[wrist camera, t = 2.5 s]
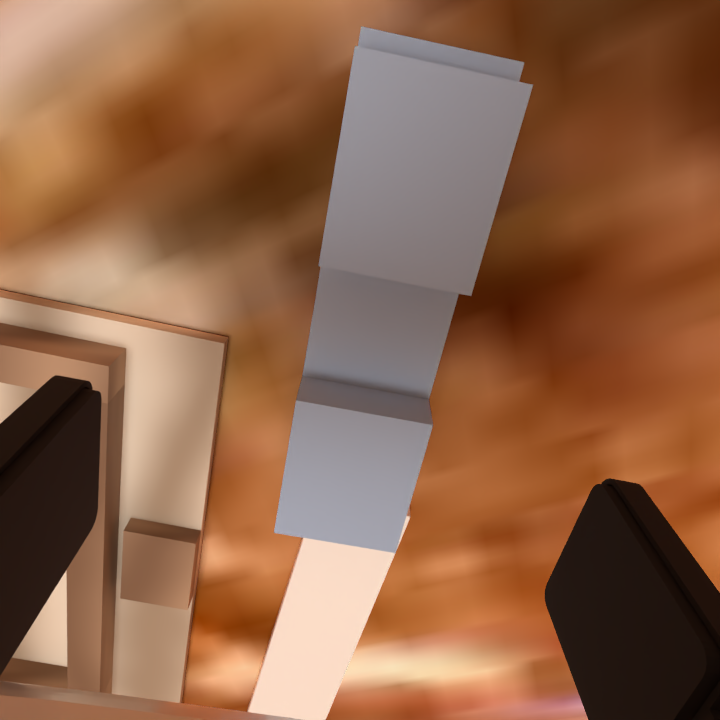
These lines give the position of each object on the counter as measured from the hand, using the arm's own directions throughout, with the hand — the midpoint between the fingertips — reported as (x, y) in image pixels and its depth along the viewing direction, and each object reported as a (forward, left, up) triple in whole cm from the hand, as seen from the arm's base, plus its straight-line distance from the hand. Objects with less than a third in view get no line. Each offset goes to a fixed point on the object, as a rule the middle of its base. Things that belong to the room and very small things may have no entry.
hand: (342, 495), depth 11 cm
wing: (-2, +16, -11) cm, 20 cm away
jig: (+12, +13, -11) cm, 21 cm away
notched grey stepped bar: (-1, -1, -11) cm, 11 cm away
